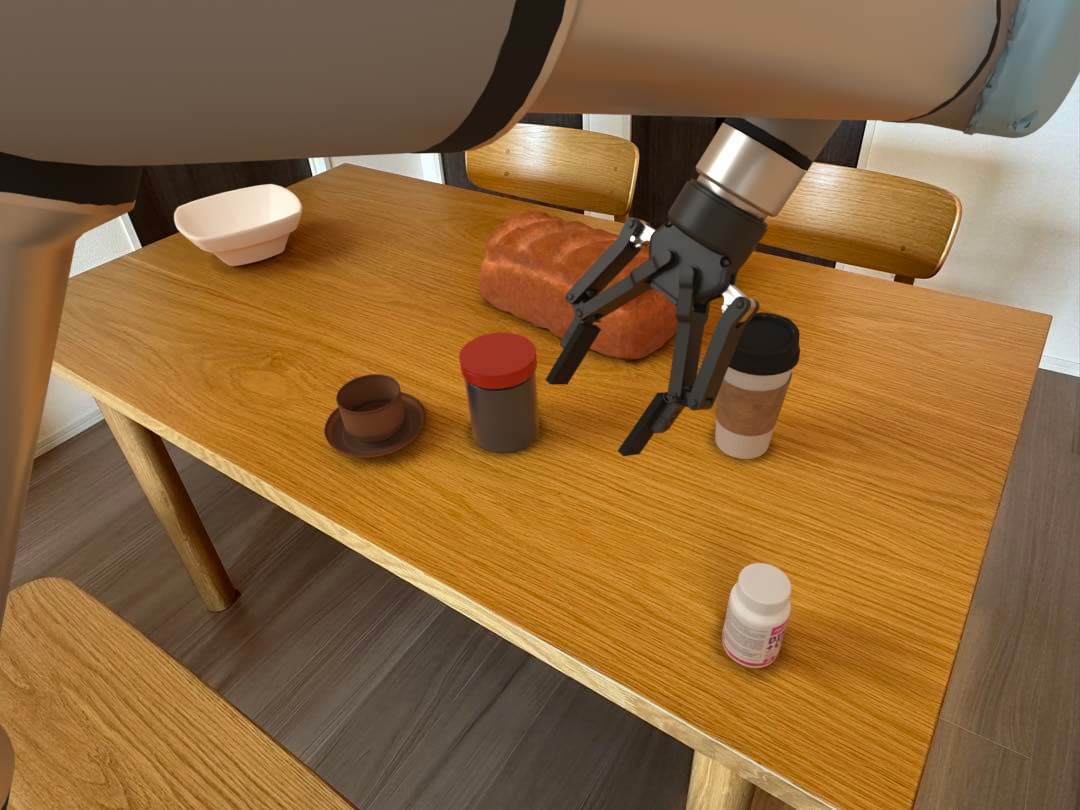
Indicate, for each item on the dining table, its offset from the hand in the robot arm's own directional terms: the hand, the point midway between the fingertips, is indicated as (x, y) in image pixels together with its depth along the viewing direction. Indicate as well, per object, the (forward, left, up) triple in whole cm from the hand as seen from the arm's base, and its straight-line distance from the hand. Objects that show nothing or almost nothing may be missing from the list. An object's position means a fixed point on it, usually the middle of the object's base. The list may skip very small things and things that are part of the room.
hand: (591, 415), depth 64 cm
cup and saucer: (-6, +28, -13) cm, 32 cm away
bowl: (+12, +87, -13) cm, 89 cm away
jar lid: (+4, +16, -2) cm, 17 cm away
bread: (+31, +26, -13) cm, 43 cm away
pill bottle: (-4, -20, -13) cm, 24 cm away
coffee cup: (+19, -7, -13) cm, 24 cm away
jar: (+4, +16, -13) cm, 21 cm away
